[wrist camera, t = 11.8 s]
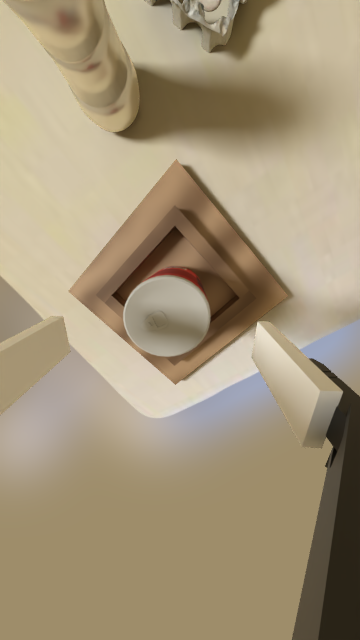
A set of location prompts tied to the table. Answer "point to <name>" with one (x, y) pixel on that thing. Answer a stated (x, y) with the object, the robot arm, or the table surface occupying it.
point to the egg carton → (194, 12)
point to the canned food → (168, 312)
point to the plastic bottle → (86, 56)
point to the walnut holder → (186, 251)
